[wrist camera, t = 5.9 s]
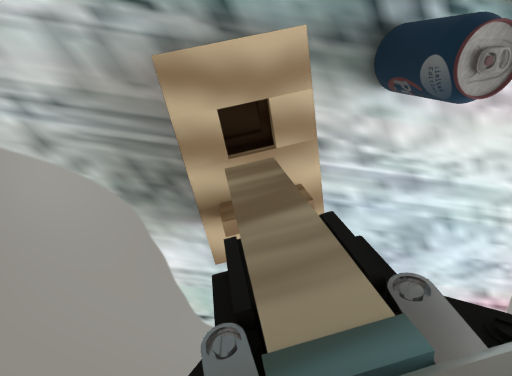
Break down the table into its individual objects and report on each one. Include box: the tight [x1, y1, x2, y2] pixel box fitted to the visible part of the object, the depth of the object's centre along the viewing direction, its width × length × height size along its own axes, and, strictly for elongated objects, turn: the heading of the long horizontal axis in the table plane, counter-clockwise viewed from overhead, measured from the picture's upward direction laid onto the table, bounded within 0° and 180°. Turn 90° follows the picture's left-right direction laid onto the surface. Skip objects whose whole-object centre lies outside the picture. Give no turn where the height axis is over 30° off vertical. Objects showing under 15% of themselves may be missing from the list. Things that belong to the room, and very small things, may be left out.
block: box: [224, 157, 435, 376], centre depth 13 cm, size 4×4×14 cm
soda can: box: [374, 12, 512, 104], centre depth 28 cm, size 7×7×12 cm
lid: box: [152, 25, 324, 264], centre depth 26 cm, size 20×12×4 cm, turn 10°
